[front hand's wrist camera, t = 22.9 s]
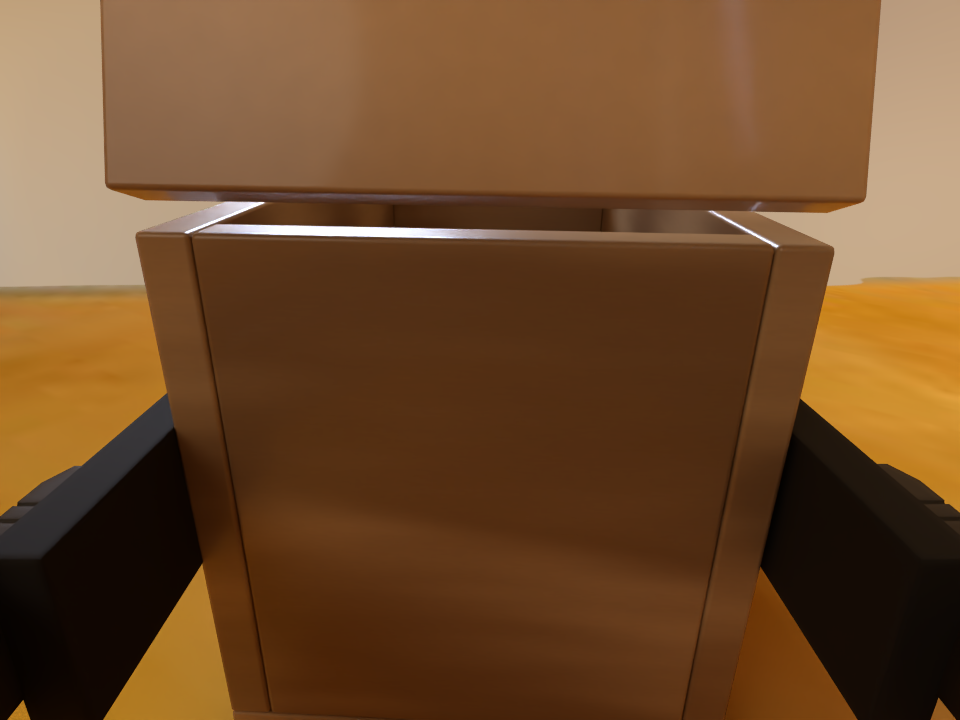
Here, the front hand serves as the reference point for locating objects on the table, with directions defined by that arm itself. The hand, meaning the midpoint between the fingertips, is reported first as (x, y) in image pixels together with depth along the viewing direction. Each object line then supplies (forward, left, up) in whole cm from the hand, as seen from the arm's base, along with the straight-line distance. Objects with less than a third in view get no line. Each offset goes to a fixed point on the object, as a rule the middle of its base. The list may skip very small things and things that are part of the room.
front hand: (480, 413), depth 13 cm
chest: (+3, -4, -6) cm, 8 cm away
